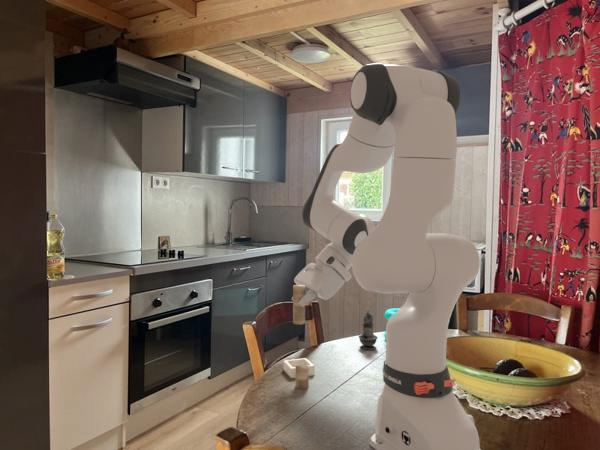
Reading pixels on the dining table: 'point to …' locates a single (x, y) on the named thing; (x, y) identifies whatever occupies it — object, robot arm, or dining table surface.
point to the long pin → (297, 309)
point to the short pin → (302, 377)
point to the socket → (291, 365)
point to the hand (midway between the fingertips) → (296, 303)
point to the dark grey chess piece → (368, 334)
